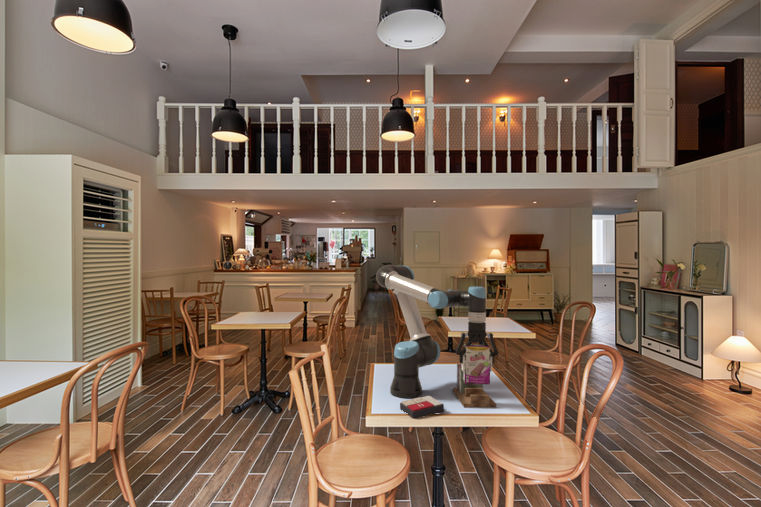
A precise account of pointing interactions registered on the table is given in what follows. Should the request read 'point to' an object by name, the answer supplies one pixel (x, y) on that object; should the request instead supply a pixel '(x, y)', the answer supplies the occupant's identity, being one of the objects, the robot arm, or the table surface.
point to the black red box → (422, 406)
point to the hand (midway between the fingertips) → (476, 370)
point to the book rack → (471, 392)
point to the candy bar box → (477, 364)
